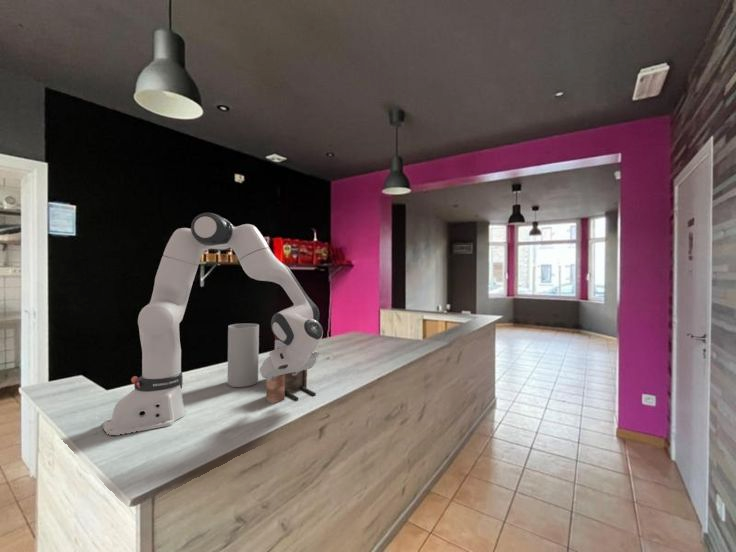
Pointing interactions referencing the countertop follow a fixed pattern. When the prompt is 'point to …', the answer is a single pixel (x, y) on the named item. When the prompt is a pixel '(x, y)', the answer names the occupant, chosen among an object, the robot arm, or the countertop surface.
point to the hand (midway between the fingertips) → (281, 376)
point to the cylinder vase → (243, 354)
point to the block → (275, 389)
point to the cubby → (296, 383)
